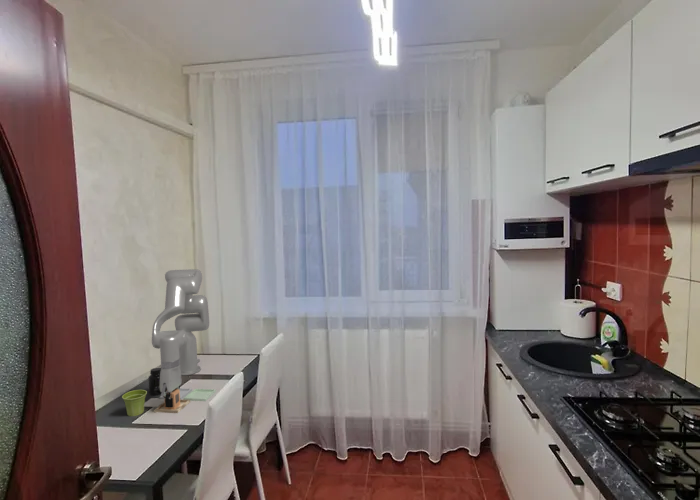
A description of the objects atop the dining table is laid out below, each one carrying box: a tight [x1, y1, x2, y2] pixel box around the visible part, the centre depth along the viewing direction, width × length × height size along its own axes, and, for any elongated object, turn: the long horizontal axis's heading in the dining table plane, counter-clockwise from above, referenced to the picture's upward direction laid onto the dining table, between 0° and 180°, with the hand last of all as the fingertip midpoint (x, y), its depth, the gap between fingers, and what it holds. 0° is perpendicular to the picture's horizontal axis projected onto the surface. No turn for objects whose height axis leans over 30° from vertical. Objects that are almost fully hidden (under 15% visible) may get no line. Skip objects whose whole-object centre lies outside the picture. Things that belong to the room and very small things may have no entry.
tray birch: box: [153, 399, 191, 414], centre depth 179 cm, size 11×11×2 cm
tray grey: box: [158, 387, 193, 400], centre depth 191 cm, size 11×11×2 cm
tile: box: [144, 397, 165, 408], centre depth 183 cm, size 8×8×1 cm
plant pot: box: [121, 389, 148, 417], centre depth 173 cm, size 9×9×9 cm
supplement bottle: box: [147, 367, 162, 397], centre depth 194 cm, size 7×7×12 cm
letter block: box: [164, 389, 180, 410], centre depth 178 cm, size 4×5×7 cm
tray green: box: [182, 388, 217, 402], centre depth 190 cm, size 11×11×2 cm
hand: (172, 403), depth 178 cm, fingers closed on letter block, 4 cm apart
